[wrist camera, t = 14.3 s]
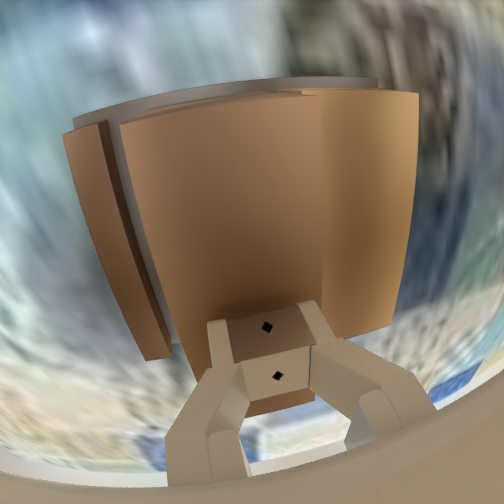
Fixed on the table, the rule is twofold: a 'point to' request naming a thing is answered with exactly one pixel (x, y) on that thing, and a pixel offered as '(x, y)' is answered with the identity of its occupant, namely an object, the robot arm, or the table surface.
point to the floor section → (334, 201)
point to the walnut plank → (231, 211)
